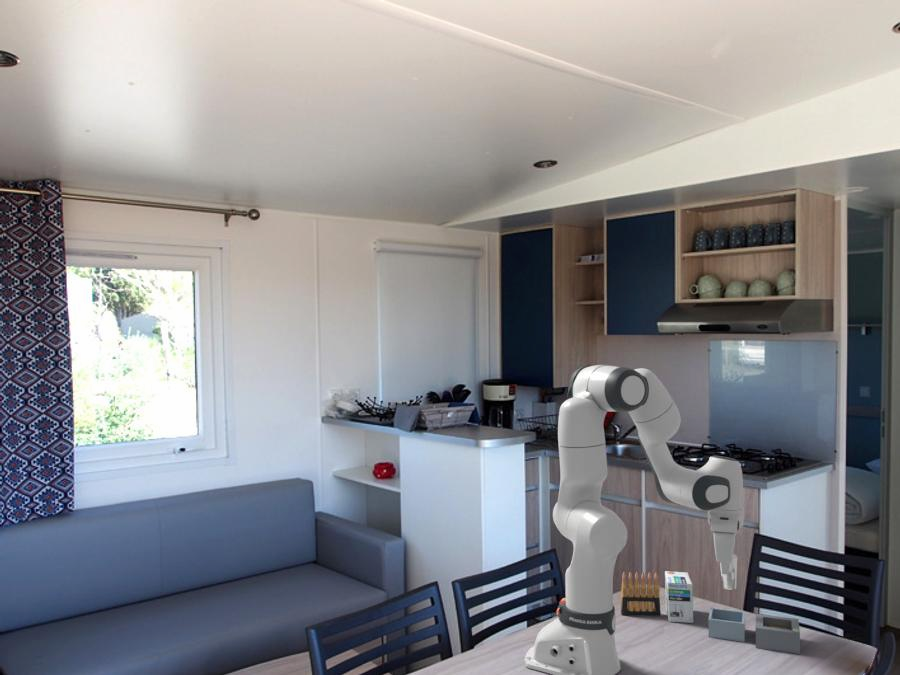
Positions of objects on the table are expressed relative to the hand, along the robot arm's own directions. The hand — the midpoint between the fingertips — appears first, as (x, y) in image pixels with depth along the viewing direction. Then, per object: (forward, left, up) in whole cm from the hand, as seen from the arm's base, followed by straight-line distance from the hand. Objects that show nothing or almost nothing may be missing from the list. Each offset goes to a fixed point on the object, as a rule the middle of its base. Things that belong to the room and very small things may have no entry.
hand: (726, 570), depth 192 cm
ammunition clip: (-23, +5, -17) cm, 29 cm away
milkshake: (0, 0, -5) cm, 5 cm away
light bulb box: (-13, +8, -17) cm, 23 cm away
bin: (0, 0, -16) cm, 16 cm away
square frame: (+12, -2, -16) cm, 20 cm away
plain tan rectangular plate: (+12, -2, -14) cm, 18 cm away
